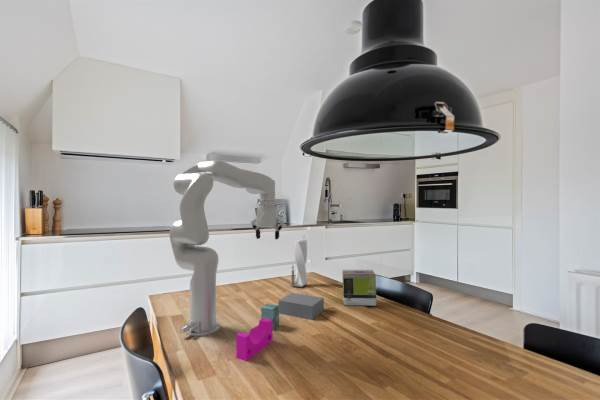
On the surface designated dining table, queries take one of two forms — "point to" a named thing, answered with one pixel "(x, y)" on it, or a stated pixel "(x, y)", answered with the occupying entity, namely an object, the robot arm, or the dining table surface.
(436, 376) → the dining table surface
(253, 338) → the toy block
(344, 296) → the tea box
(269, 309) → the teal block
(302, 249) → the skyscraper
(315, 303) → the plinth
